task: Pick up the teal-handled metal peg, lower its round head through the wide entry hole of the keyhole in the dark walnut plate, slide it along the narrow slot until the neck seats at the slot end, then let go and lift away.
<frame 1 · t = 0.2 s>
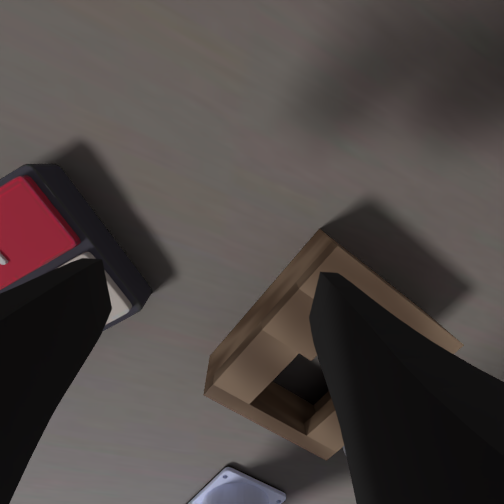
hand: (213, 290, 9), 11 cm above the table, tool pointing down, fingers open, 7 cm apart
keyhole plate: (316, 335, 23), on the table
calculator: (34, 275, 21), on the table
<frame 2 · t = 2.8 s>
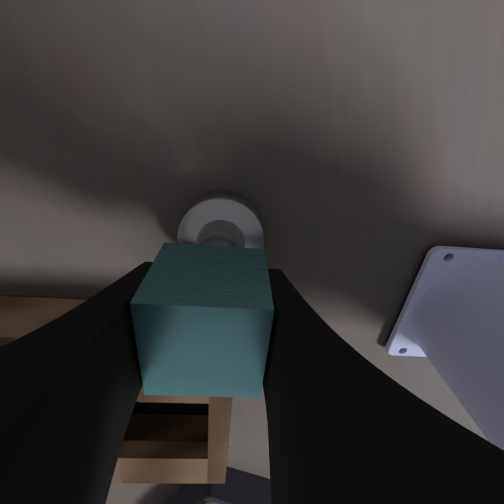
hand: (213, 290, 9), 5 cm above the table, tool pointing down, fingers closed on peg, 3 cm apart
keyhole plate: (129, 370, 19), on the table
peg: (223, 229, 14), on the table, touching gripper
calculator: (245, 495, 30), on the table
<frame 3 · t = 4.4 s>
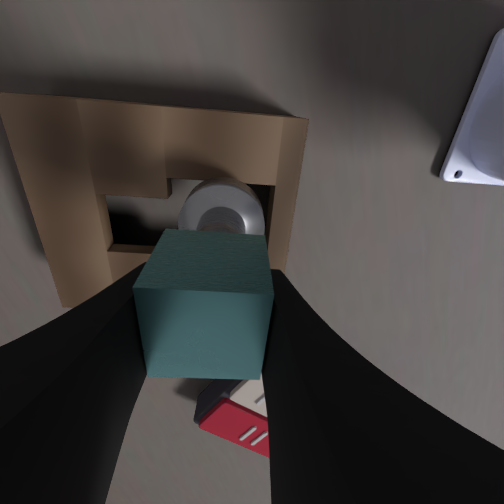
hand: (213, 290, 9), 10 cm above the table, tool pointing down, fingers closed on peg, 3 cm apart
keyhole plate: (180, 204, 19), on the table
peg: (223, 216, 14), point 5 cm above the table, touching gripper
calculator: (282, 390, 29), on the table
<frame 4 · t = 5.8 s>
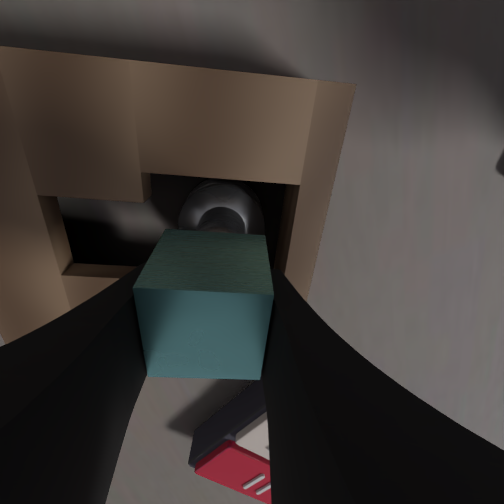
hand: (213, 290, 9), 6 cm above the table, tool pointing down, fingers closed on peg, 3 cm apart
keyhole plate: (167, 209, 14), on the table
peg: (223, 216, 14), point 1 cm above the table, touching gripper
calculator: (293, 425, 25), on the table
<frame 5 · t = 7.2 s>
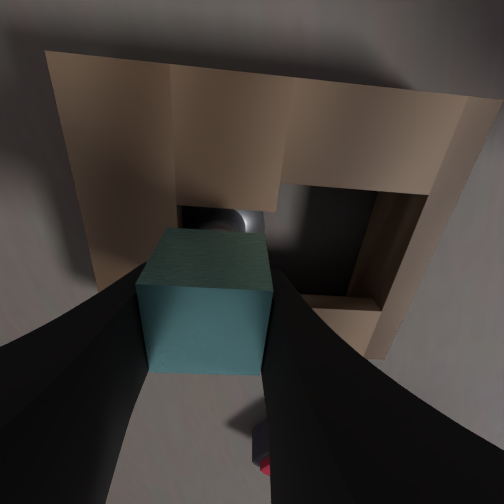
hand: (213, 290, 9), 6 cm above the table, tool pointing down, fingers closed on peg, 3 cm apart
keyhole plate: (260, 216, 14), on the table
peg: (224, 215, 14), resting in keyhole plate, touching gripper
calculator: (347, 425, 25), on the table
when the fingers open (6 cm above the table, at t = 8.5 s): peg stays where it is, resting in keyhole plate.
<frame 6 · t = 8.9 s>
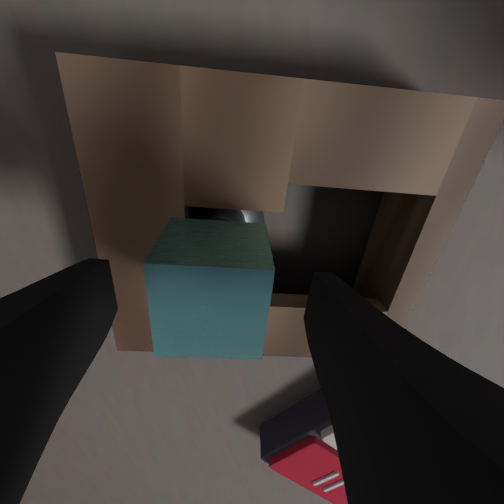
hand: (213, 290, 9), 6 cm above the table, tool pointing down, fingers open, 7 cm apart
keyhole plate: (265, 216, 15), on the table
peg: (224, 213, 14), resting in keyhole plate
calculator: (354, 425, 25), on the table
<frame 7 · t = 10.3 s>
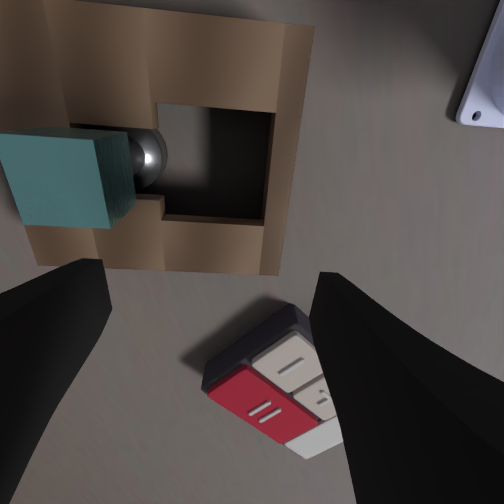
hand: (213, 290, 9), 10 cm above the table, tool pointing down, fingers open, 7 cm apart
keyhole plate: (170, 154, 17), on the table
peg: (134, 151, 17), resting in keyhole plate
calculator: (294, 369, 28), on the table
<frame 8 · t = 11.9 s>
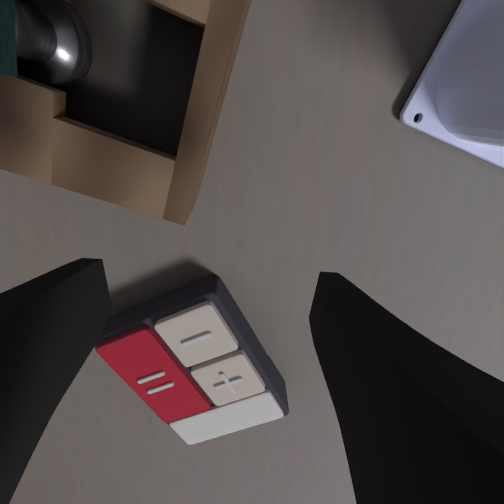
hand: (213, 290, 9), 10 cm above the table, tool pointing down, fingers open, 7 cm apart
keyhole plate: (95, 58, 15), on the table
peg: (51, 40, 14), resting in keyhole plate
calculator: (203, 349, 26), on the table
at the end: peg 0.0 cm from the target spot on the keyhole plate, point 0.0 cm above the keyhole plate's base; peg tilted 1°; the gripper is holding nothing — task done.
